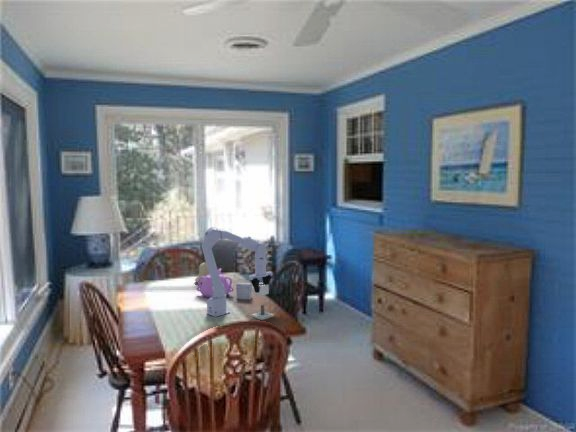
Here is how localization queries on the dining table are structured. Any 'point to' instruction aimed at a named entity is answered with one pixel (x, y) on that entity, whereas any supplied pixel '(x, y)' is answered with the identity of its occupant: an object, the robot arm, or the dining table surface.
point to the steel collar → (262, 289)
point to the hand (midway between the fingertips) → (261, 291)
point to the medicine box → (244, 290)
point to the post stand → (262, 314)
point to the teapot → (207, 285)
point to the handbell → (203, 271)
